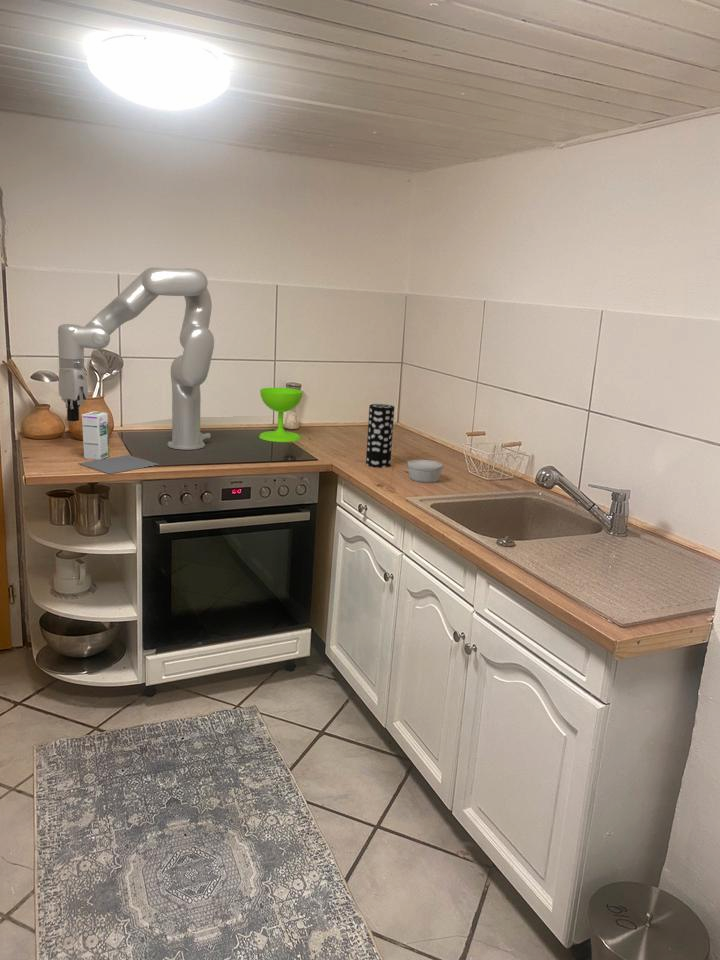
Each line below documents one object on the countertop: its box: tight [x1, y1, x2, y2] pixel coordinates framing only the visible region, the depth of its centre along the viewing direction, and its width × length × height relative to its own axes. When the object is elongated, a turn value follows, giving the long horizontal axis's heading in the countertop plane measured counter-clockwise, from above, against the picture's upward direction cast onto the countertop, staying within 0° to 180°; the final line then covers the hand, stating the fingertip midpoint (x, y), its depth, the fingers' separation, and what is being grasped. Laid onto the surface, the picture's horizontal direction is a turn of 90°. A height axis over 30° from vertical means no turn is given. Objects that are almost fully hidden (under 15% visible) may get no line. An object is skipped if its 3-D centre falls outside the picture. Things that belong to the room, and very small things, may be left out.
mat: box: [78, 454, 160, 475], centre depth 232 cm, size 18×16×1 cm
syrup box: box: [81, 410, 110, 461], centre depth 237 cm, size 6×6×14 cm
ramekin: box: [407, 459, 443, 484], centre depth 236 cm, size 11×11×5 cm
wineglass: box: [258, 387, 303, 443], centre depth 284 cm, size 16×16×18 cm
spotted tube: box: [365, 403, 395, 469], centre depth 250 cm, size 8×8×20 cm
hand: (73, 420), depth 243 cm, fingers closed
